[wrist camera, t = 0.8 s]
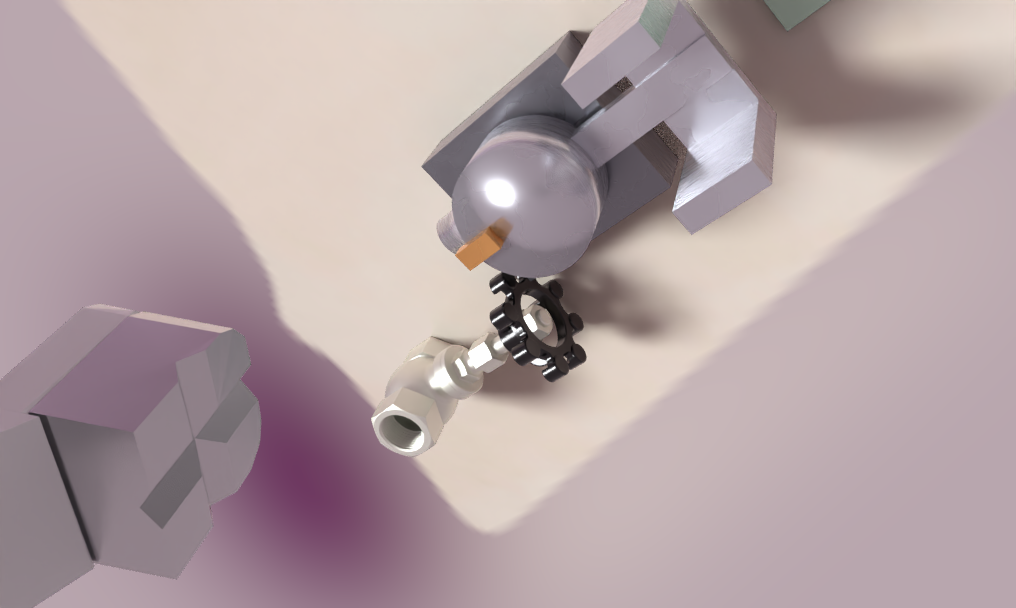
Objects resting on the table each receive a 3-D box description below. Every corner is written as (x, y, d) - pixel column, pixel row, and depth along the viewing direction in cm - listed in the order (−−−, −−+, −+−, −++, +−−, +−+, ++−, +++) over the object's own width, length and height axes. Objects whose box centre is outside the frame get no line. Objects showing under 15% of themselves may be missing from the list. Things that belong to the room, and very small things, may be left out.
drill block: (569, 30, 42) (555, 52, 40) (678, 158, 44) (670, 186, 42) (409, 167, 49) (389, 193, 46) (511, 274, 51) (497, 304, 48)
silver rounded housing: (662, -32, 37) (638, 21, 31) (776, 112, 39) (771, 184, 33) (434, 162, 44) (383, 230, 39) (539, 273, 46) (504, 352, 41)
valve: (454, 411, 58) (598, 324, 51) (419, 485, 53) (574, 399, 46) (380, 338, 56) (518, 239, 50) (336, 408, 51) (484, 307, 44)
